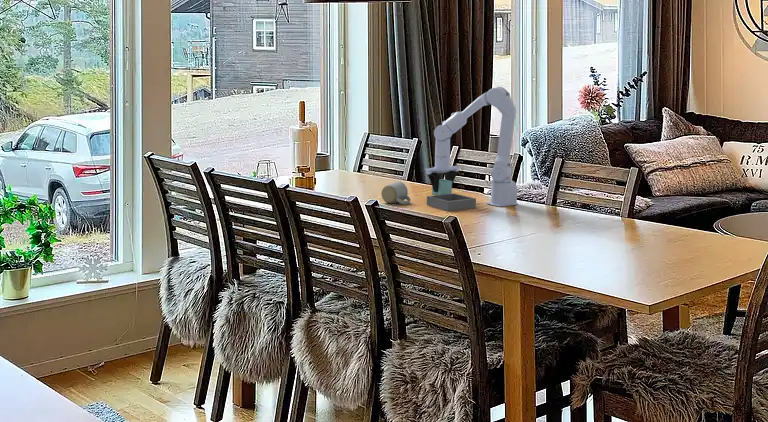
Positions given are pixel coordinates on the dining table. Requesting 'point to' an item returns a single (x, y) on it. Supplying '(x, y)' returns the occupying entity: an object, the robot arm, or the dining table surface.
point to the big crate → (451, 202)
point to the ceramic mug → (395, 193)
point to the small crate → (443, 187)
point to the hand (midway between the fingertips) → (441, 191)
